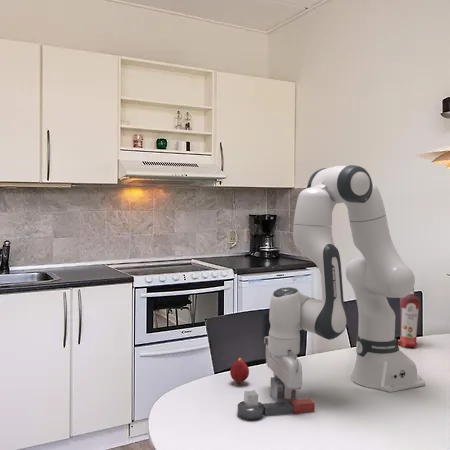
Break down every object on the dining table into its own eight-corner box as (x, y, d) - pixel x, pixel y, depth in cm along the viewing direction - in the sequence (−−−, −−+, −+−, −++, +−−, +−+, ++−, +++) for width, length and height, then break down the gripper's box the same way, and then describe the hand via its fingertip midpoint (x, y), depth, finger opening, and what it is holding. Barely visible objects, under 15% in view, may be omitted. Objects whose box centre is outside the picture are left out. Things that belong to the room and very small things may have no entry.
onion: (247, 388, 150) (247, 362, 150) (228, 386, 152) (228, 360, 151) (250, 381, 156) (250, 356, 156) (231, 379, 157) (232, 354, 157)
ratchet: (306, 404, 139) (307, 383, 139) (317, 415, 133) (317, 393, 132) (234, 410, 134) (234, 388, 134) (241, 422, 128) (241, 399, 127)
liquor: (399, 348, 193) (402, 277, 192) (396, 343, 200) (399, 274, 199) (419, 349, 192) (422, 277, 190) (415, 344, 199) (418, 275, 198)
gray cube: (288, 394, 146) (288, 376, 145) (295, 402, 140) (296, 383, 140) (270, 396, 144) (270, 377, 144) (276, 404, 139) (277, 384, 139)
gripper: (309, 356, 132) (307, 407, 133) (282, 335, 152) (280, 379, 153) (286, 357, 131) (285, 409, 131) (262, 336, 151) (261, 380, 151)
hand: (282, 392), depth 142 cm, fingers closed on gray cube, 6 cm apart
